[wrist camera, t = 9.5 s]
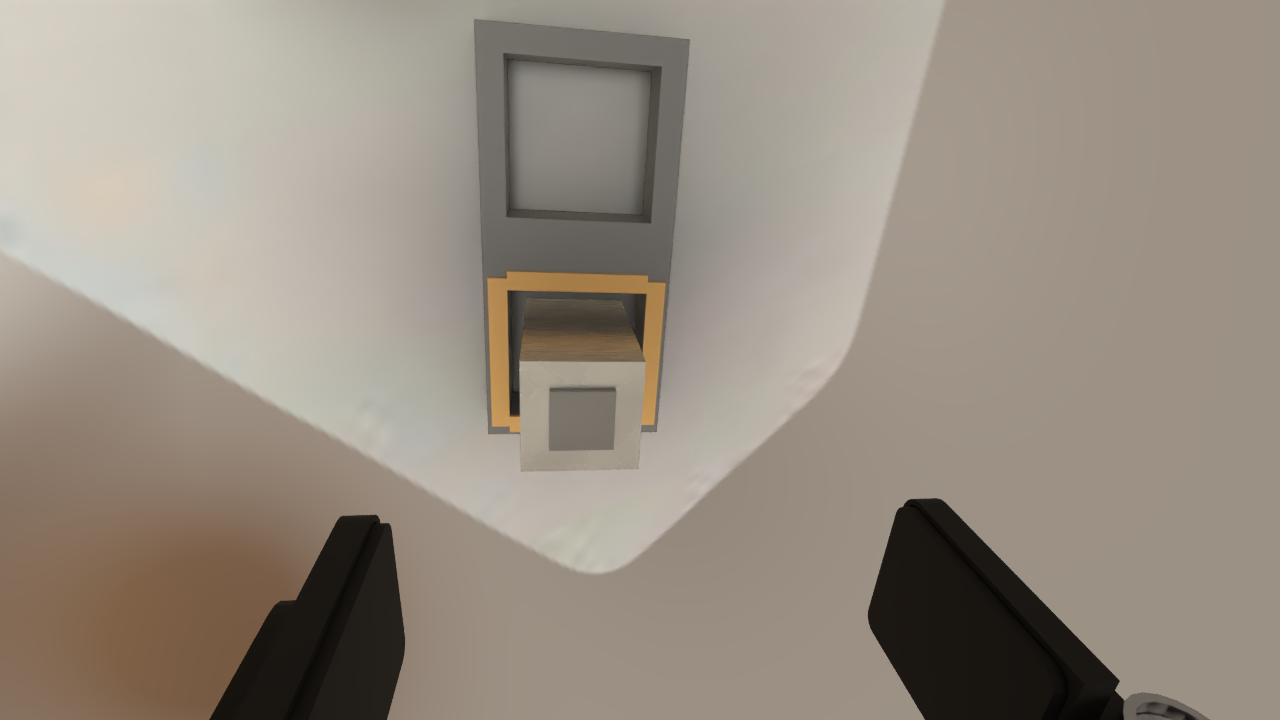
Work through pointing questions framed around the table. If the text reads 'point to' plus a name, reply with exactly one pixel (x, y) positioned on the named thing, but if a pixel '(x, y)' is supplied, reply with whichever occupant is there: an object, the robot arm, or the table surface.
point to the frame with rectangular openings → (576, 241)
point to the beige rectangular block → (579, 386)
